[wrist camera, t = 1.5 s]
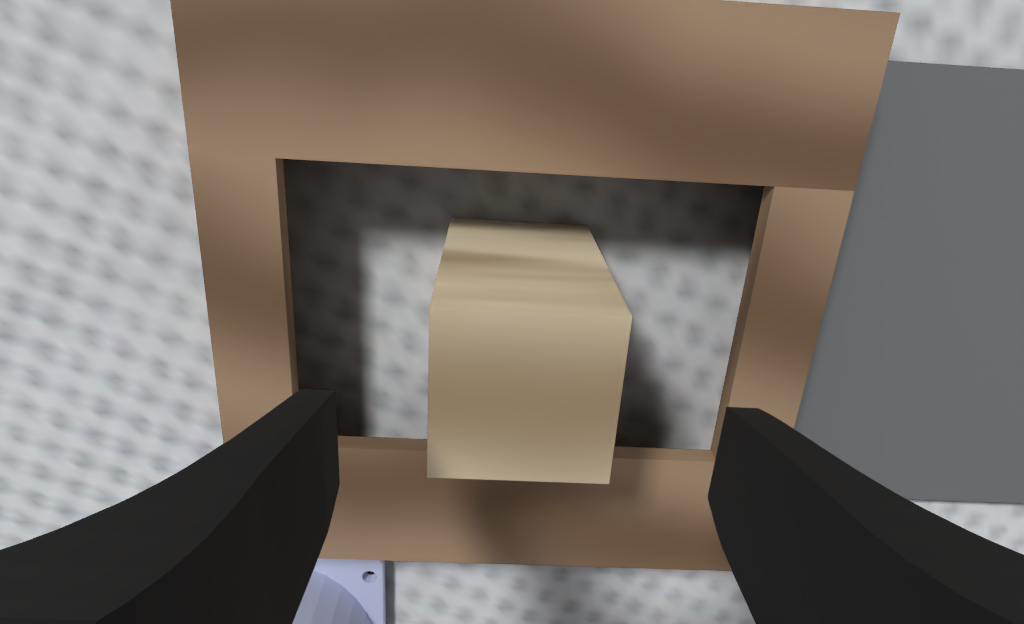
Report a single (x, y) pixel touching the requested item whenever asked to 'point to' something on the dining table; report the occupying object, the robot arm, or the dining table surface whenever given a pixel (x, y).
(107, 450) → the dining table surface
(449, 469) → the block
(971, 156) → the mat
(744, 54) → the wooden square frame
